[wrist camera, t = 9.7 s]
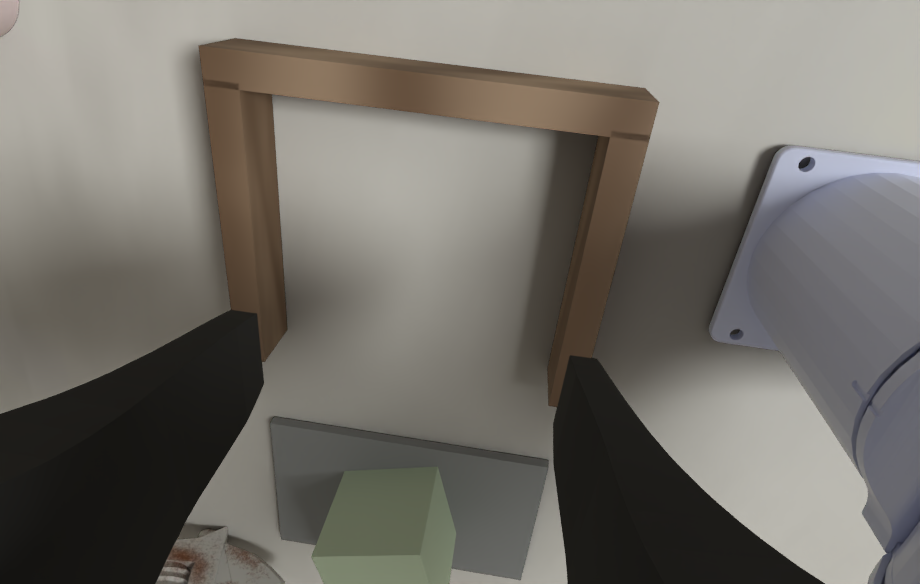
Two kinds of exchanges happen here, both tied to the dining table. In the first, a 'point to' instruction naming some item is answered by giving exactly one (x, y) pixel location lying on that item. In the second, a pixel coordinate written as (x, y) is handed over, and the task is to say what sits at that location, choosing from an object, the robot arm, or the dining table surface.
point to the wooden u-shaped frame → (422, 91)
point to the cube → (387, 529)
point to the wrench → (214, 562)
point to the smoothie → (8, 15)
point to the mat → (461, 468)
